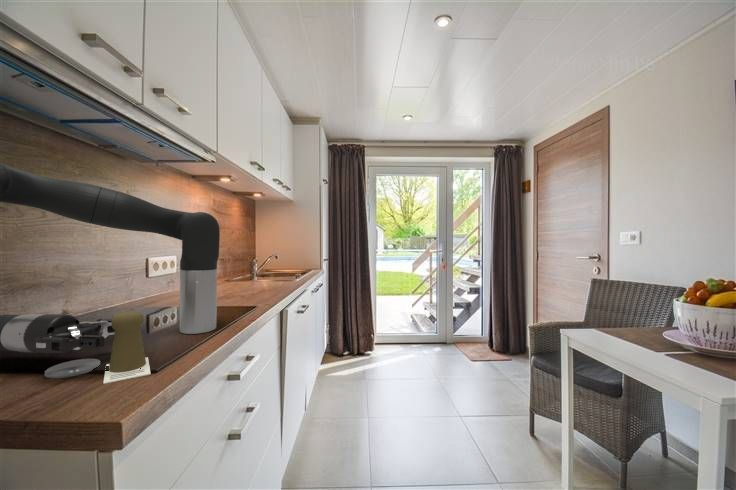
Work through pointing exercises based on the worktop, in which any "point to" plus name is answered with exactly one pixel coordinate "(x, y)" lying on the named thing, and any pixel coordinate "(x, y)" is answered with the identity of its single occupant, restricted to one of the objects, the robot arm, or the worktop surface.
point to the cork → (127, 342)
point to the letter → (127, 373)
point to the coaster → (72, 368)
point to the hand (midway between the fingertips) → (120, 335)
